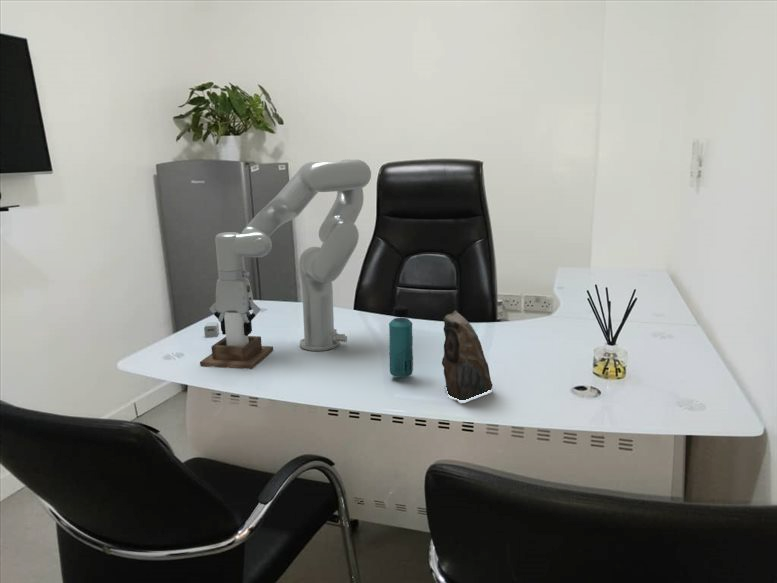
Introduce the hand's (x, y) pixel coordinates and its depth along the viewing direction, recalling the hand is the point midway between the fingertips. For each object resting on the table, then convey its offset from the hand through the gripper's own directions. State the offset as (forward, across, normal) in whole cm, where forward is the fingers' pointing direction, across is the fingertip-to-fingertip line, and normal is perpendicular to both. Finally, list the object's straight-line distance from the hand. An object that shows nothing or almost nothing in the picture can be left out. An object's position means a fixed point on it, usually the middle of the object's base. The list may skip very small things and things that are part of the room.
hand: (236, 333), depth 162 cm
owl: (+8, -69, +15) cm, 71 cm away
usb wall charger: (+8, +19, -20) cm, 29 cm away
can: (+5, 0, 0) cm, 5 cm away
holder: (+8, 0, 0) cm, 8 cm away
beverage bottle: (+8, -51, +8) cm, 52 cm away
